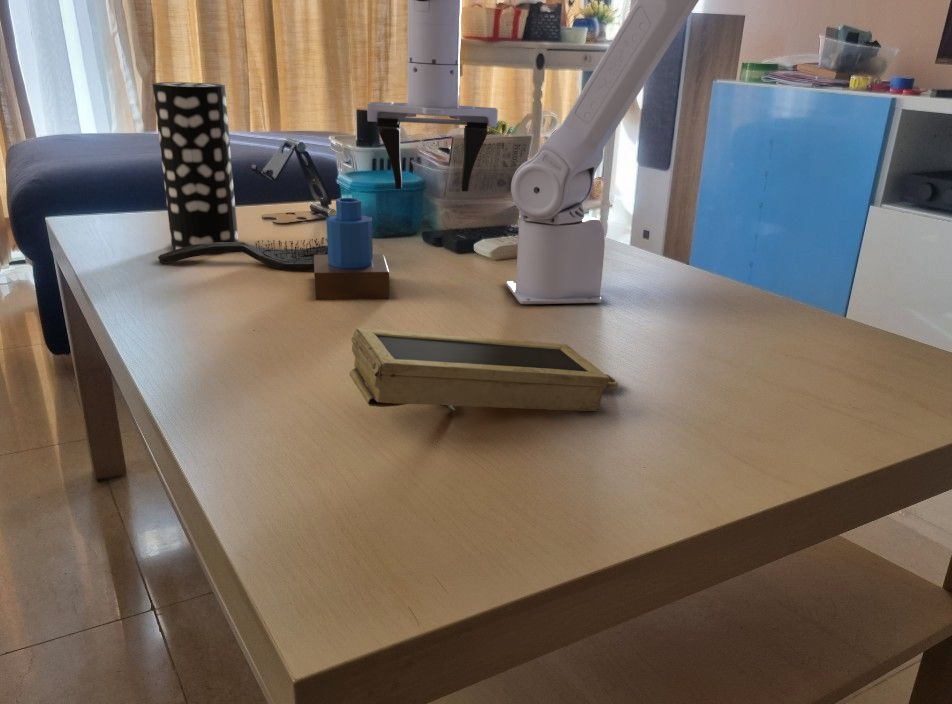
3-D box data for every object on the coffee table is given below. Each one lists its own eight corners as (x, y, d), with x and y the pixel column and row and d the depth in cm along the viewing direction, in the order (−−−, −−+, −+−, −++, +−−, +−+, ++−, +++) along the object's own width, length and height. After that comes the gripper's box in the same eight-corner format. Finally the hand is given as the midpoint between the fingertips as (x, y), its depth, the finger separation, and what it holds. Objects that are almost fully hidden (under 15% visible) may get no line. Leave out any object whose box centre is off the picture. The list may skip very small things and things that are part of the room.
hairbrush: (163, 232, 104) (365, 224, 108) (168, 260, 106) (367, 252, 109) (147, 248, 97) (365, 238, 100) (153, 278, 98) (368, 268, 102)
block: (383, 278, 100) (383, 254, 98) (389, 298, 92) (389, 271, 91) (315, 279, 98) (313, 254, 97) (315, 299, 91) (314, 272, 90)
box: (341, 386, 65) (349, 325, 64) (584, 395, 76) (598, 343, 74) (369, 431, 59) (379, 365, 57) (632, 434, 69) (648, 378, 67)
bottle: (371, 257, 97) (369, 196, 94) (374, 268, 92) (372, 204, 89) (328, 257, 96) (325, 195, 93) (328, 269, 91) (325, 204, 88)
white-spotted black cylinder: (252, 246, 111) (239, 86, 103) (200, 257, 105) (182, 87, 97) (210, 236, 115) (194, 81, 107) (158, 246, 109) (137, 82, 101)
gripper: (364, 61, 88) (367, 192, 93) (502, 68, 89) (496, 197, 95) (368, 59, 94) (370, 182, 100) (496, 65, 96) (491, 186, 101)
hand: (431, 188), depth 98 cm, fingers open, 7 cm apart
